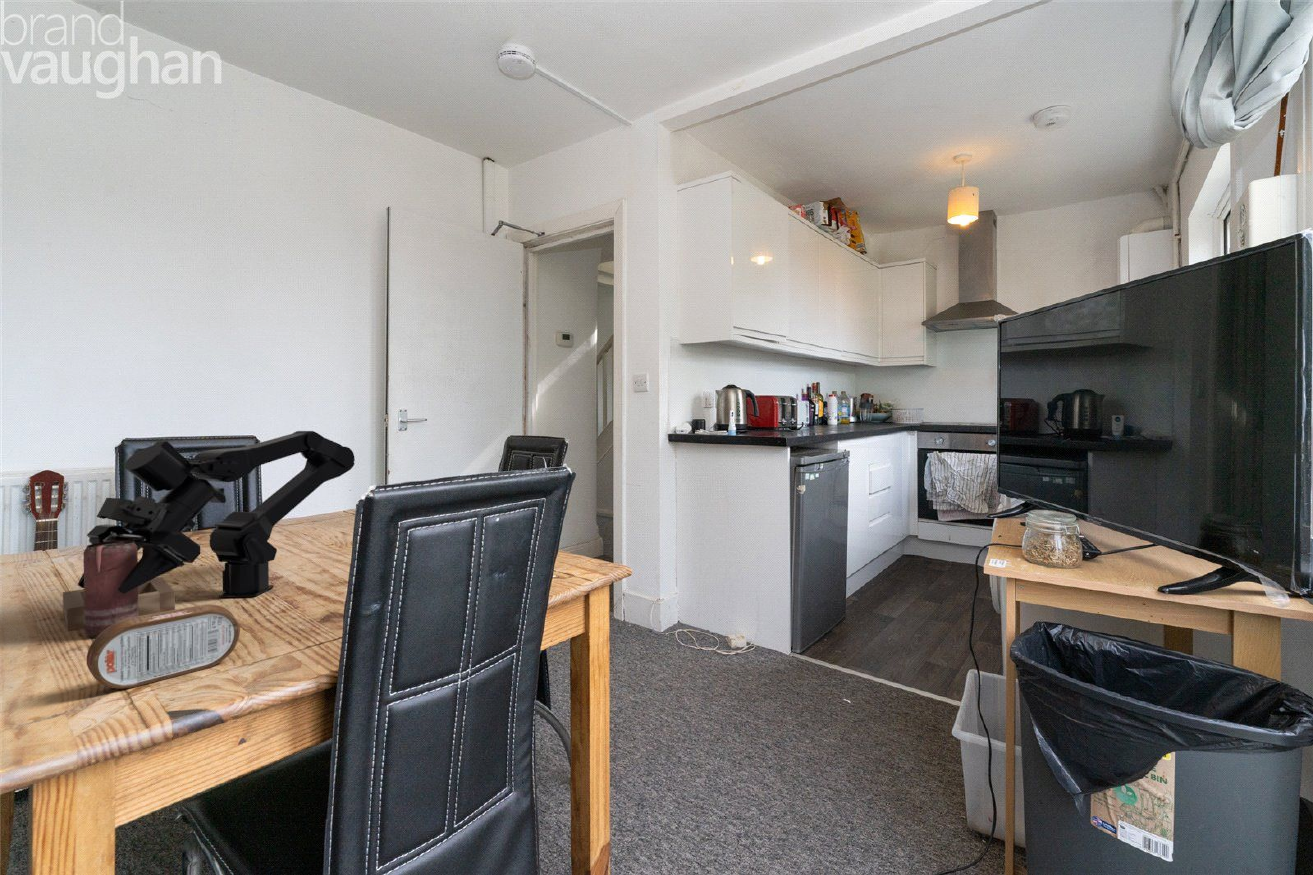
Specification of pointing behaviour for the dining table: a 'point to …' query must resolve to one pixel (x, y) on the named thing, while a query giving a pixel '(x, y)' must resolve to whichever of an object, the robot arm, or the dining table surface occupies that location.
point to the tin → (162, 645)
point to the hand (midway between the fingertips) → (100, 589)
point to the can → (108, 585)
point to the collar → (150, 601)
